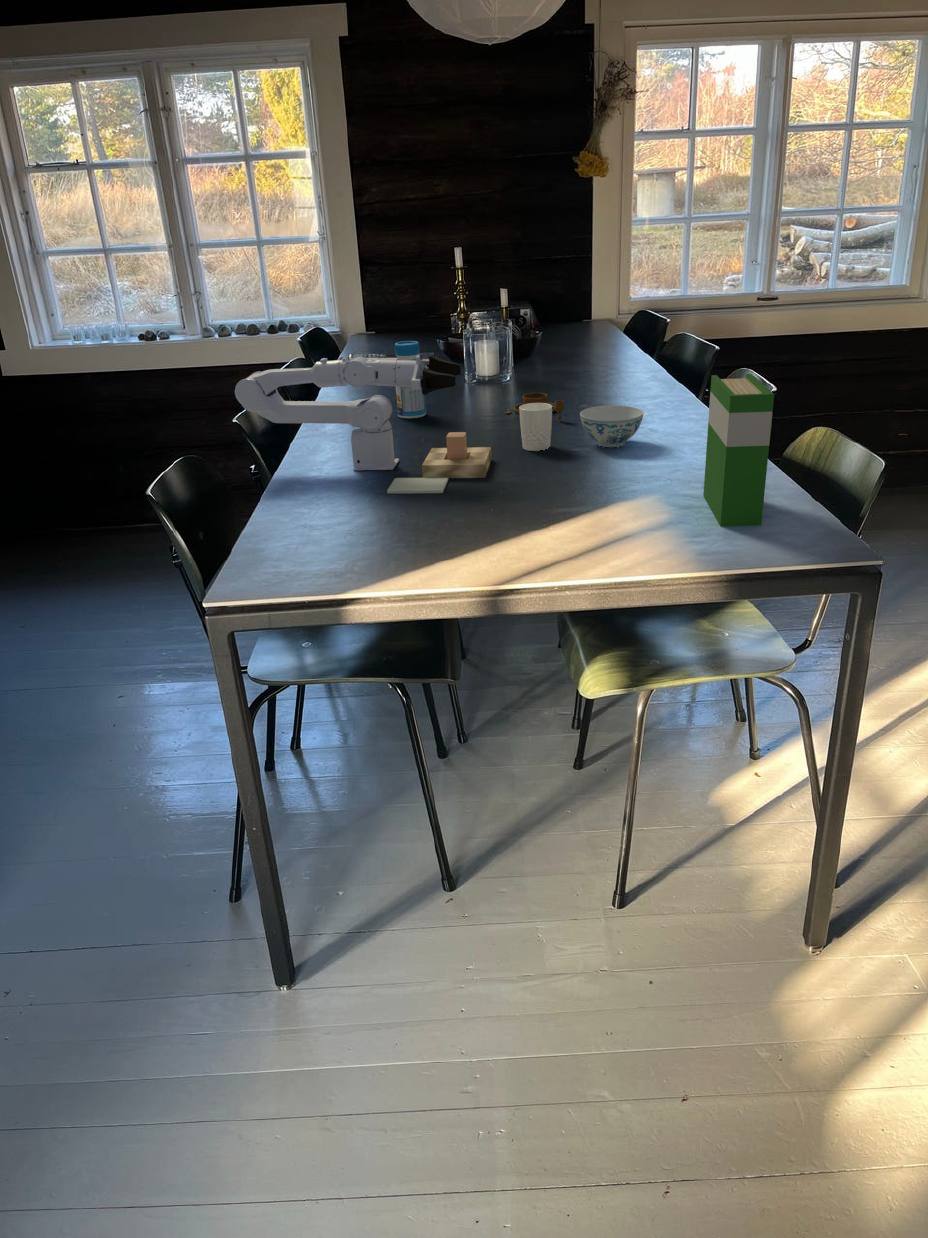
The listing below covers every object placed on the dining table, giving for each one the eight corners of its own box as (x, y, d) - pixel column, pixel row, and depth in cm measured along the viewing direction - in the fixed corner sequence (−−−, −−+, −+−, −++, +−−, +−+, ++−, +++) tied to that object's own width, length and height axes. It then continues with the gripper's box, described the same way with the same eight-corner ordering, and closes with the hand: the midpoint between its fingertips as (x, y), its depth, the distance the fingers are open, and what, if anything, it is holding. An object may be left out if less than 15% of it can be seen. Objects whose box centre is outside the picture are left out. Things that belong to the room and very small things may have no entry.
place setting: (567, 406, 261) (567, 386, 258) (566, 424, 243) (566, 402, 240) (506, 408, 263) (505, 387, 260) (501, 426, 245) (500, 404, 242)
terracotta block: (448, 471, 208) (446, 437, 204) (450, 466, 211) (448, 432, 208) (465, 471, 207) (463, 436, 204) (467, 466, 211) (466, 432, 207)
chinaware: (641, 453, 214) (642, 420, 210) (577, 452, 217) (577, 420, 213) (643, 436, 227) (644, 405, 223) (582, 436, 230) (582, 405, 226)
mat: (387, 493, 196) (386, 490, 195) (395, 480, 204) (395, 477, 203) (442, 493, 194) (442, 490, 194) (448, 480, 202) (448, 477, 202)
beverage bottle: (414, 420, 253) (408, 346, 244) (391, 417, 258) (384, 344, 249) (433, 413, 259) (428, 341, 250) (410, 410, 264) (405, 339, 255)
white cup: (526, 453, 218) (525, 411, 214) (515, 445, 225) (514, 404, 220) (557, 449, 220) (557, 408, 215) (545, 441, 227) (545, 401, 222)
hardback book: (703, 495, 184) (711, 375, 174) (740, 494, 184) (751, 373, 173) (720, 526, 168) (730, 395, 158) (761, 525, 168) (774, 394, 157)
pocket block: (422, 478, 204) (422, 465, 203) (432, 460, 217) (431, 447, 215) (485, 477, 202) (484, 464, 201) (491, 459, 215) (490, 447, 213)
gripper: (390, 365, 196) (452, 367, 195) (403, 345, 208) (462, 347, 206) (392, 397, 200) (453, 399, 198) (404, 375, 212) (462, 377, 210)
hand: (458, 375), depth 203 cm, fingers open, 7 cm apart
